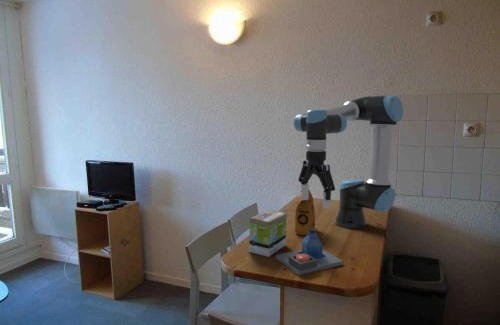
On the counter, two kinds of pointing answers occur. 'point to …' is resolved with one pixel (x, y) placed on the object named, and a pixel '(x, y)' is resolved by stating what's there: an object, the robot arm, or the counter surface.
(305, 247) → the perfume bottle
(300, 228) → the coffee package
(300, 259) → the button
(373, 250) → the counter surface
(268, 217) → the tea box
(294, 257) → the pallet plate
